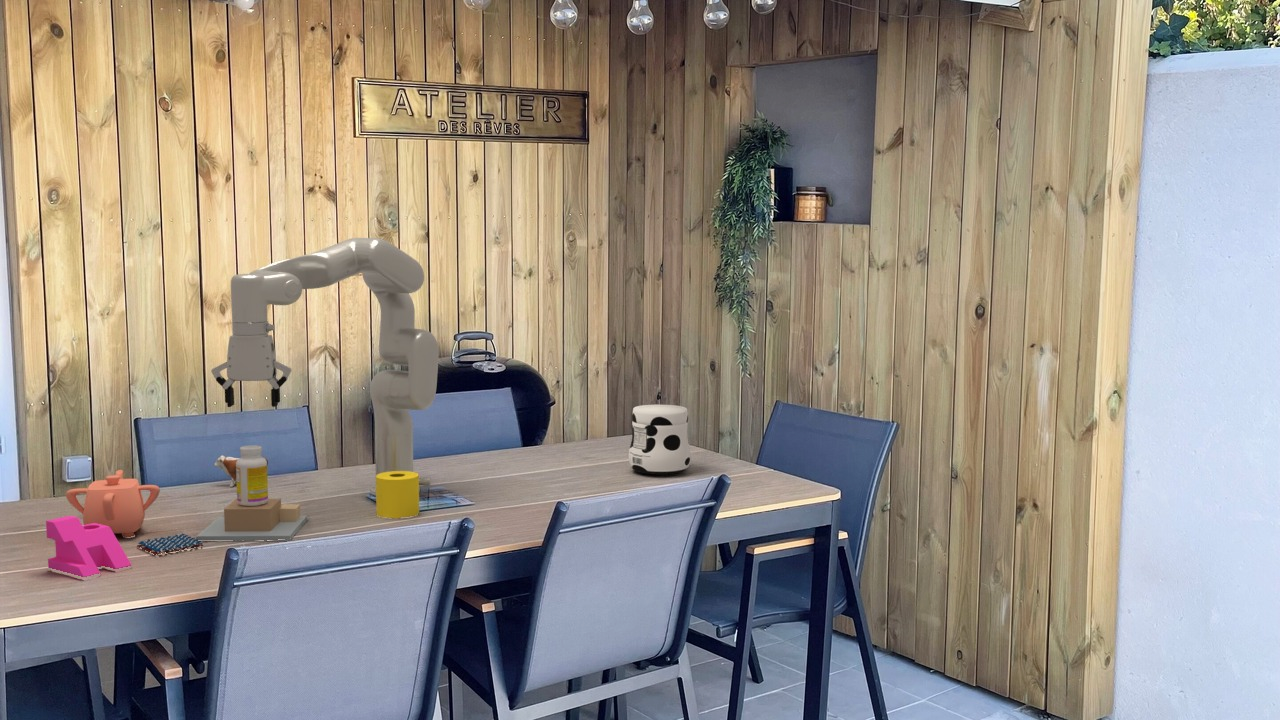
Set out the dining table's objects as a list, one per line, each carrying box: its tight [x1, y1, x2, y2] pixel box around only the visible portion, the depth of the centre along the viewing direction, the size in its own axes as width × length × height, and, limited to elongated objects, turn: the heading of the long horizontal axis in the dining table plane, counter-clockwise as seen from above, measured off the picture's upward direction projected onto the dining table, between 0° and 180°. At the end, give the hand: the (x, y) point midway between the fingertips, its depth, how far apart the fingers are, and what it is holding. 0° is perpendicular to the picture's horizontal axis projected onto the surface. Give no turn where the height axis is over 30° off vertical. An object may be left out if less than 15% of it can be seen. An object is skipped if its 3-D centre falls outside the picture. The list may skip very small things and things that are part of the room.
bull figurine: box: [213, 455, 269, 488], centre depth 318 cm, size 4×13×8 cm, turn 108°
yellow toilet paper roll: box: [375, 471, 420, 518], centre depth 288 cm, size 10×10×9 cm
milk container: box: [628, 403, 692, 476], centre depth 338 cm, size 17×17×18 cm
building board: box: [195, 498, 309, 542], centre depth 272 cm, size 20×18×6 cm
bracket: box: [45, 515, 132, 577], centre depth 241 cm, size 12×10×10 cm
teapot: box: [65, 469, 161, 537], centre depth 268 cm, size 17×16×13 cm
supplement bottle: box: [236, 445, 269, 506], centre depth 271 cm, size 7×7×13 cm
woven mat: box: [136, 533, 204, 556], centre depth 257 cm, size 10×11×2 cm
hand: (252, 406), depth 271 cm, fingers open, 9 cm apart
